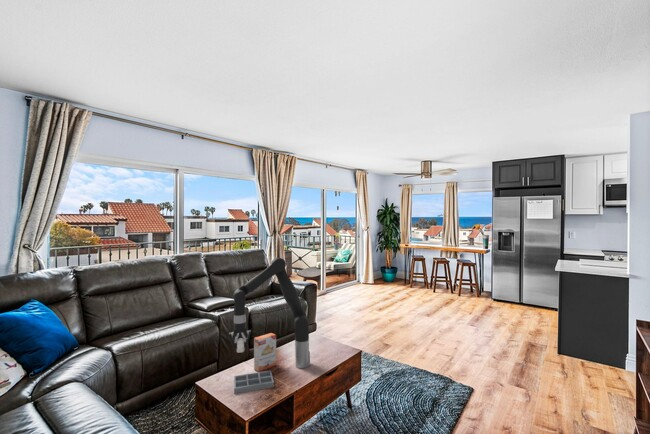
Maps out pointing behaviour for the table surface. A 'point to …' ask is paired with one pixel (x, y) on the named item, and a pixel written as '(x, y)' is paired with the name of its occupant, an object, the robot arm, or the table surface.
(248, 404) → the table surface
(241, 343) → the egg
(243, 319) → the robot arm
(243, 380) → the egg tray
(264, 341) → the cracker box
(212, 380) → the table surface
